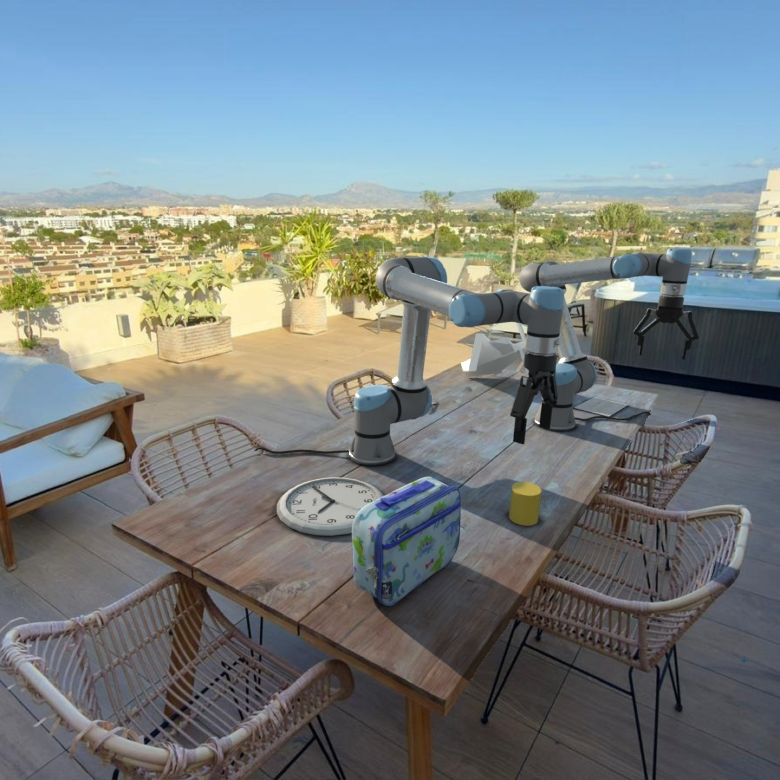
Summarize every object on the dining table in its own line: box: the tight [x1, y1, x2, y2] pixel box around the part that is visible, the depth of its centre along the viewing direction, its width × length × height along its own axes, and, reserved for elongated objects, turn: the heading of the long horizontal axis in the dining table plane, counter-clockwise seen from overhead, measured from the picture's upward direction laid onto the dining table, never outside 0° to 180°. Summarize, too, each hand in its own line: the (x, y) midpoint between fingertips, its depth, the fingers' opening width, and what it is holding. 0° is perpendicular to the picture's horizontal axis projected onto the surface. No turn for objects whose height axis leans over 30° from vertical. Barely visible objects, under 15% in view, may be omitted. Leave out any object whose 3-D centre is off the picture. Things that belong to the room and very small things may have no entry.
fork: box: [430, 396, 439, 409], centre depth 222 cm, size 3×16×2 cm, turn 160°
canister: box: [508, 481, 543, 527], centre depth 137 cm, size 8×8×9 cm
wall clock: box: [276, 476, 385, 537], centre depth 142 cm, size 30×2×30 cm
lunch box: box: [351, 476, 462, 607], centre depth 111 cm, size 26×11×21 cm, turn 135°
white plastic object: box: [460, 323, 529, 378], centre depth 259 cm, size 37×45×31 cm
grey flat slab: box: [573, 396, 629, 417], centre depth 226 cm, size 21×1×15 cm
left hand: (532, 435), depth 131 cm, fingers open, 13 cm apart
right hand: (661, 356), depth 184 cm, fingers open, 13 cm apart
